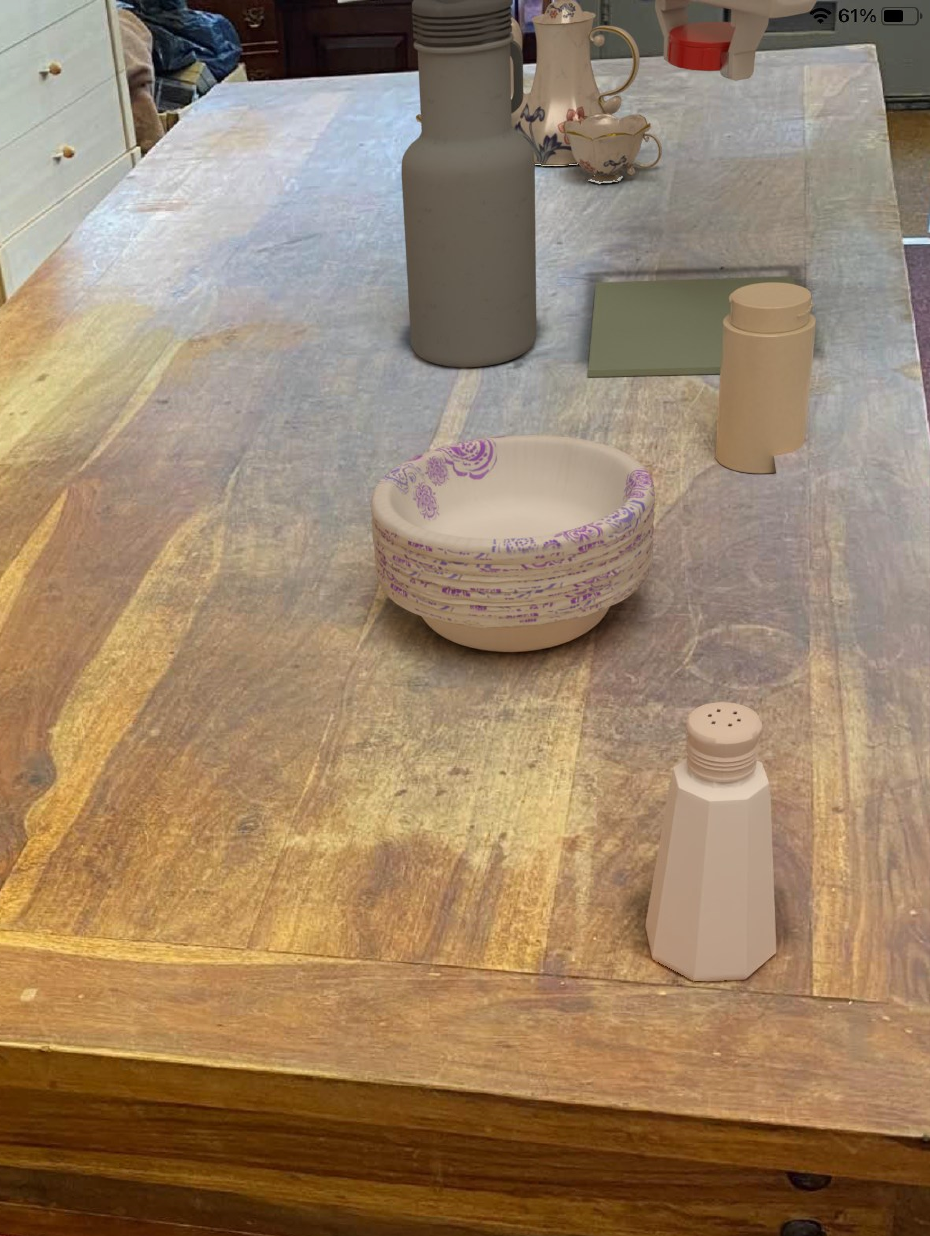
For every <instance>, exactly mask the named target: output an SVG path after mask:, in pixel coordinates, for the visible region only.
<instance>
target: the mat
mask: <svg viewBox="0 0 930 1236" xmlns="http://www.w3.org/2000/svg"><path fill="white" fill-rule="evenodd" d="M772 282H774V283H788V284H794V285H797V284H796V279H795V276H794V275H783V276H781V275H780V276H778V275H777V276H752V277H751V276H750V277H749V276H748V277H725V278H724V277H723V278H722V277H721V278H693V279H691V278H689V279H666V280H665V279H663V280H636V281H635V280H633V281H632V280H631V281H629V280H628V281H607V282H606V281H603V282H601V281H600V282H595V284H594V285H595V286H594V297H593V298H594V299H593V310H592V318H591V319H592V321H591V331H590V342H589V343H590V344H589V353H588V354H589V355H588V367H587V377H588V378H604V377H605V378H607V377H608V378H610V377H652V376H655V377H657V376H690V375H692V376H695V375H697V376H698V375H720V366H721V348H722V330H723V320H724V318H725V317H726V316H727V315H728V314H730V305H731V302H729V296H730V295H731V293H733V292H734V291H735V290H737V289H739V288H741V287H744V286H747V285H752V284H758V283H772Z"/></svg>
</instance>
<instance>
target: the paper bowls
mask: <svg viewBox="0 0 930 1236" xmlns="http://www.w3.org/2000/svg"><path fill="white" fill-rule="evenodd" d="M655 506H656V492H655V485H654V480H653V478H652V476H651V474H650V473H649V471H648V469H647V468H646V466H644V464H643V463H641V462H640V461H639V460H638V459H637V458H634V457H633V456H632V455H630V454H629V453H626V452H624V451H623V450H621V449H618V448H616V447H614V446H610V445H608V444H604V443H601V442H597V441H593V440H588V439H584V438H578V437H571V436H564V435H563V436H562V435H549V434H548V435H545V434H515V435H514V434H513V435H499V436H489V437H481V438H475V439H469V440H465V441H459V442H457V443H450V444H448V445H443V446H441V447H438V448H434V449H432V450H429V451H425V452H423V453H420V454H419V455H416V456H413V457H411V458H408V459H407V460H405V461H403V462H401V463H399V464H398V465H396V466H395V467H394V468H391V470H389V472H387V473H386V474H385V475H384V476H383V477H382V478H381V479H380V480H379V481H378V482H377V484H376V486H375V488H374V490H373V492H372V495H371V498H370V513H371V517H372V518H371V527H372V541H373V542H372V543H373V547H374V548H373V550H374V563H375V565H374V566H375V572H376V579H377V582H378V583H379V586H380V588H381V590H382V591H383V592H384V594H385V595H387V597H388V599H390V600H391V601H393V602H394V604H395V605H398V606H399V607H400V608H402V609H403V610H406V611H408V612H410V613H412V614H414V615H417V616H420V617H421V618H422V619H423V621H424V622H425V623H426V624H427V625H428V626H429V627H430V629H432V630H433V631H434V632H435V633H437V634H438V635H440V636H441V637H443V638H444V639H446V640H449V641H450V642H453V643H455V644H458V645H461V646H464V647H468V648H472V649H477V650H481V651H487V652H488V651H489V652H500V653H519V652H521V653H523V652H530V651H539V650H543V649H544V650H545V649H549V648H553V647H556V646H560V645H562V644H565V643H568V642H571V641H573V640H575V639H577V638H579V637H581V636H582V635H585V634H586V633H588V632H589V631H591V630H592V629H593V628H594V627H596V626H597V625H598V624H599V623H600V622H601V621H602V619H603V618H604V617H605V616H606V615H607V612H608V611H609V610H610V608H611V606H614V605H617V604H618V603H620V602H623V601H624V600H626V599H628V598H629V597H630V596H632V594H633V593H635V592H636V591H637V590H639V588H640V587H642V586H643V584H644V583H645V582H646V580H647V578H648V576H649V573H650V571H652V570H651V569H652V566H653V560H654V549H653V548H654V535H655V525H654V521H655V508H656V507H655Z"/></svg>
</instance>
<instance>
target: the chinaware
mask: <svg viewBox="0 0 930 1236" xmlns="http://www.w3.org/2000/svg"><path fill="white" fill-rule="evenodd" d="M596 16H597V14H596V13H595V12H590V11H583V10H582V7H581V5H580V4H579V3H578V2H577V1H576V0H555V1H552V2H551V3H549V4H548V6H547V7H546V10H545V11H544V13H541V14H538V15H535V16H533V17H532V18H530V21H531V23H532V24H533V27H534V28H533V29H534V34H535V39H536V63H535V72H534V77H533V81H532V85H531V90H530V92H528V93H525V92H524V91H523V101H522V104H521V106H520V107H519V108H518V109H517V110H516V111H515V112H514V113H511V121H512V127H513V129H514V130H515V131H517V132H518V133H520V134H521V135H523V136H524V137H525V138H526V139H527V141H528V142H529V143H530V145H531V146H532V149H533V153H534V161H535V164H541V165H569V164H577V163H578V164H579V165H578V166H580V167H581V168H582V169H583V170H584V171H585V172H588V173H589V174H591V175H595V176H594V177H593V176H592V177H590V178H588V179H589V180H590V179H592V180H595V181H599V182H603V181H613V180H615V181H618V180H617V179H618V178H619V177H621V176H623V175H622V174H619V173H621V172H623V171H624V170H626V173H627V175H629V176H634V175H635V174H636V169H635V168H634V166H638V167H640V168H645V169H650V168H653V167H655V166H656V165H657V164H658V163H659V161H660V160H661V158H662V154H663V148H662V147H663V146H662V143H661V141H660V139H659V138H658V137H657V136H656V135H654V134H652V133H647V132H649V131H650V130H651V128H652V126H651V122H648V121H647V119H646V117H645V116H643V115H641V114H629V115H626V116H624V117H621V118H619V117H617V116H615V115H613V114H616V113H617V112H618V111H619V110H620V108H621V107H622V102H623V100H622V99H623V98H622V97H621V95H619V94H622V93H623V92H624V91H626V90H627V89H628V88H629V87H630V86H631V85H632V84H633V82H635V80H636V78H637V75H638V73H639V70H640V60H641V58H640V52H639V48H638V45H637V42H636V41H635V39H634V38H633V36H631V34H630V33H629V32H628V31H627V30H625V29H623V28H621V27H619V26H614V25H599V26H596V27H593V25H594V20H595V18H596ZM511 20H512V24H511V26H512V32H511V33H512V34H513V36H514V39H513V40H514V41H515V42H517V43H518V44H519V46H520V47H521V49H522V50H523V34H522V30H521V29H522V28H521V27H520V24H519V22H518V21H517V20H516V19H515V18H514V17H513V16H512V18H511ZM597 32H607V33H612V34H615V35H618V36H620V38H622V39H623V40H624V41H625V42H626V44H627V45H628V46H629V49H630V51H631V55H632V56H631V57H632V67H631V71H630V74H629V76H628V78H627V79H626V80H625V81H624V83H622V85H620V86H619V87H616V88H614V89H612V90H608V91H603V92H600V90H599V87H598V85H597V82H596V79H595V74H594V71H593V66H592V59H591V43H593V44H594V46H596V47H601V46H603V45H604V44H605V39H606V38H605V35H603V34H601V33H600V34H597V35H595V33H597ZM594 35H595V36H594ZM510 66H511V99H512V97H513V93H514V77H513V60H512V58H511V56H510ZM609 96H612V97H610V98H609V99H607V100H605V99H604V98H605V97H609ZM415 120H416V122H417V123H420V124H421V113H418V114H416V116H415ZM650 138H652V139H653V140H654V141H655V142H656V144H657V147H658V154H657V158H656V159H655V161H653V162H652V163H651V164H645V163H644V164H643V163H640V162H634V161H635V160H636V158H637V156H638V155H639V153H640V150H641V147H642V145H643V140H644V141H645V142H646V143H648V142H649V141H650Z"/></svg>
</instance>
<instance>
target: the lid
mask: <svg viewBox="0 0 930 1236" xmlns="http://www.w3.org/2000/svg"><path fill="white" fill-rule="evenodd" d="M735 28H736V27H732V26H731V21H698V22H691V23H688V24H685V25H681V26H678V27H675V28H673V29H672V30H670V32H669V40H668V53H667V56H668V57H667V60H668V62H667V63H669V64H670V65H671V66H673V67H676V68H679V69H683V70H689V71H699V72H720V68H721V66H722V64H721V51H724V50H725V51H726V50H729V47H730V44H731V41H732V38H733V34H734V31H735ZM756 51H757V49H756V50H755V53H756Z"/></svg>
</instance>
